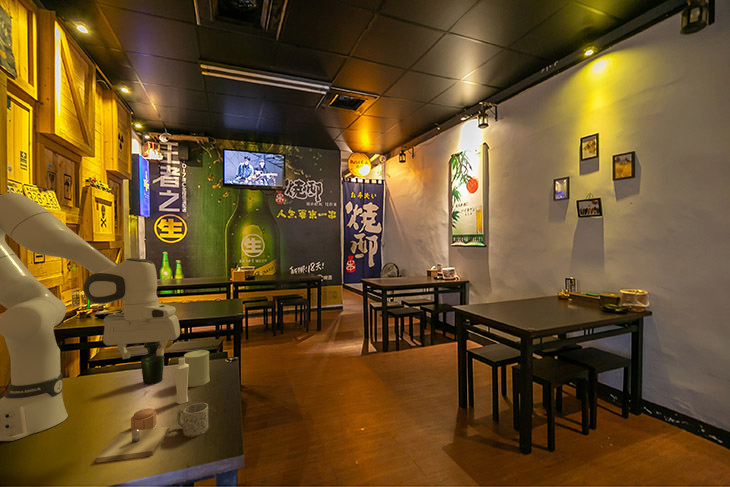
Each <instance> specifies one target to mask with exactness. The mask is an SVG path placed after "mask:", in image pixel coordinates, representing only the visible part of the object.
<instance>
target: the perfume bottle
mask: <svg viewBox="0 0 730 487" xmlns="http://www.w3.org/2000/svg"><path fill="white" fill-rule="evenodd" d="M188 367H189V364H185V358H184V357H180V358H178V365H175V367H174V368H173V370H174V377H175V378H174V379H175V388H176V400H175V401H176V402H175V403H177V404H178V405H181V404H184V403H189V397H188V388H189V387H188Z"/></svg>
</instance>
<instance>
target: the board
mask: <svg viewBox="0 0 730 487" xmlns="http://www.w3.org/2000/svg"><path fill="white" fill-rule="evenodd" d="M170 430H171V428H170V426H165V427H164V426H162V427H156V428H155V427H154V428H153V429H145V430H139V431H140V440H139V441H138V442H136V443H132V431H131V430H129V431H121V432H119V433H118V434H117V435H115V436H116V437H114V438H113V440H112V441H111V442H109V444H108V445H107V446H106V447H105V448H104V449H103V450H102V451H101V452H100V453H99V454H98V455H97V456H96V457H95V463H97V464H98V463H105V462H111V461H119V460H128V459H135V458H143V457H151V456H153V455H154V454H155V453H156V451H157V450H158V449H159V447H160V446H161V444H162V443H163V441H164V440H165V438H166V436H168V434H169V433H170Z"/></svg>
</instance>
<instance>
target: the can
mask: <svg viewBox="0 0 730 487" xmlns="http://www.w3.org/2000/svg"><path fill="white" fill-rule="evenodd" d="M183 358H185V364H189V367H188V388H195V387H200V386H204V385H206V384H208V383H209V382H210V381H211V379H210V351H209V350H206V349H205V350H204V349H200V350H193V351H188V352H186V353H185V354H184V355H183Z"/></svg>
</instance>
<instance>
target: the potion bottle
mask: <svg viewBox="0 0 730 487" xmlns="http://www.w3.org/2000/svg"><path fill="white" fill-rule="evenodd" d="M159 347H161V345H160V341H159V342H146V343H144V345H143V348H144V349H147V353H146V354H145V355H144V356H142V357H141V360H140V367H141V375H142V382H143V384H144V385H147V386H151V385H155V384H156V385H157V384H159V383H160V382H162V381H163V377H164V376H163V375H164V367H165V366H164V364H165V355H163V356H157V355H156V354H157V353H156V351H157V350H158V349H159Z"/></svg>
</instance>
